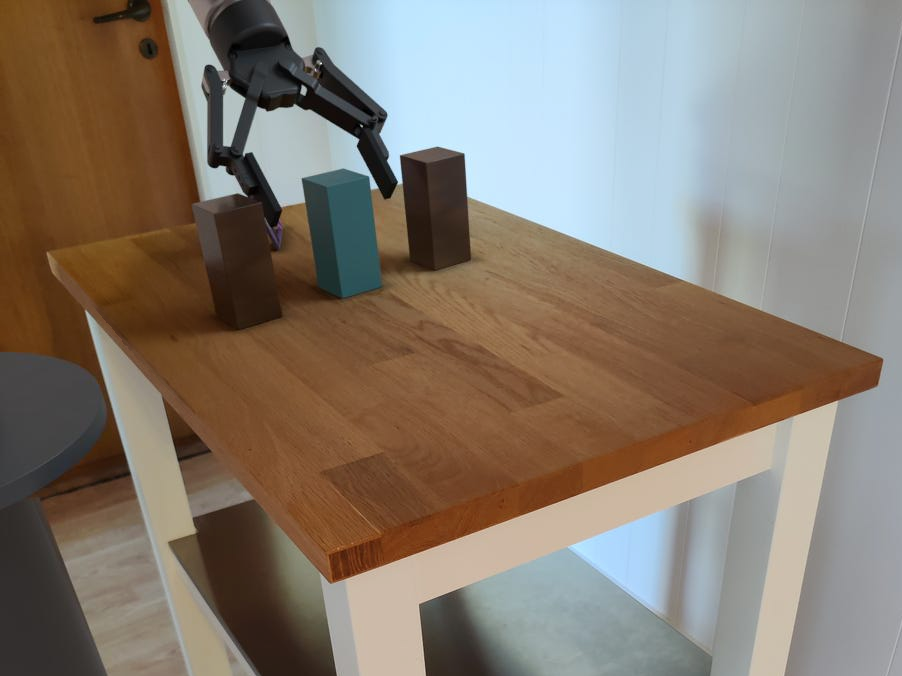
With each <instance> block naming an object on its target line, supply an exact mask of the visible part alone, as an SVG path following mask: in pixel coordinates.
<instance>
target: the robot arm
mask: <svg viewBox="0 0 902 676" xmlns="http://www.w3.org/2000/svg"><path fill="white" fill-rule="evenodd" d="M187 2H188V4H189V5H190V7H191V10H192V12H193V13H194V15H195V17H196V19H197V20H198V23H199V26H201V29H202V31H203V32H204V35H205V37H206V38H207V39H208V40H209V44H210V46H211V48H212V51H213V52H214V54H215V56H216V58H217V60H218V62H219V64H220V66H221V68H222V69H223V70H218V69H217V68H216V67H215V66H214V65H213V64H206V65H205V66H204V68H203V74H202V79H201V85H200V86H201V90H202V93H203V96H204V97H205V100H206V103H207V104H206V105H207V108H206V113H207V114H206V115H207V117H206V123H207V124H206V163H207V166H209V167H210V168H211V169H218V168H219V167H224V168H225V172H226V173H227V175H229V176H232V177H233V176H234V178H235V179H236V181H237V183H238V185H239V187H240V189H241V191H242V193H243V195H244V196H246V197H248V196H251V195H253V196H254V198H255V200H257V201H259V202H261V203H262V207H263V212H264V217H265V219H266V221H267V223H268V225H269V227H270V228H277V227H278V222H279V219H280V220H281V217H282V213H283V208H282V206H281V205H280V202H279V201H278V199H277V197H276V195H275V193H274V191H273V189H272V187H271V186H270V183H269V182H268V179H267V178H266V175H265V174H264V172H263V170H262V168H261V165H260V164H259V162H258V160H257V158H256V156H255V154H254V153H253V152H252V151H250V152H246V153H244V152H245V149H246V145H247V142H248V138H249V135H250V131H251V129H252V125H253V122H254V117H255V115H256V112H257V109H258V108H259V109H262V110H265V112H267V113H268V112H274V111H275V110H277V109H279V108H280V109H282V108H283V109H290V108H293V107H294V106H297V107H299V108H300V109H302V110H303V111H309V110H310V111H311V112H313V113H315V114H316V115H318V116H320V117H322V118H323V119H325V120H326V121H328V122H330V123H331V124H332V125H334V126H336V127H338V128H339V129H341V130H343V131H344V132H346V133H347V134H350V135H351V136H352V137H354V138H356V139H357V140H358V141H357V143H356V148H357V150H358V152H359V155H360V156H361V158H362V159H363V162H364V163H365V165H366V167H367V169H368V171H369V173H370V175H371V177H372V179H373V181H374V182H375V184H376V186H377V188H378V190H379V192H380V194H381V196H382V197H383V200H389V199H391V198H392V196H393V194H394V192H395V190H396V188H397V186H398V184H399V181H398V179H397V177H396V175H395V173H394V171H393V169H392V168H391V165H390V164H389V162H388V160H389V158H390V151H389V150H388V148H387V146H386V144H385V142H384V141H383V138H382V137H381V135H380V134H381V132H382V131H383V127H384V126H385V124H386V121H387V119H388V112H387V111H386V110H385V109H384V108H383V107H382V106H381V105H380V104H379V103H377V101H376V100H374V99H373V98H372V97H371V96H370V95H369V94H368V93H366V91H364V90H363V89H362V88H361V87H360V86H359V85H358V84H356V83H355V82H354V81H353V80H352V79H351V78H350V77H348V76H347V74H345V73H344V72H343V71H342V70H341V69H340V68H339V67H337V66H336V64H334V62H333V61H332V59H331V58H330V56H329V55H328V53H327V52H326V50H325V49H324V48H322V47H320V46H316V47H315V48H314V50H313V54H311V55H307V56H304V57H301V56H300V55H299V54H298V53H297V52H296V51H295V50H294V48H293V45H292V43H291V40H290V37H289V34H288V32H287V29H286V28H285V26H284V23H283V22H282V20H281V17H280V16H279V15H278V12H277V11H276V9H275V8H274V6H273V5H272V2H271V0H187ZM228 86H229V88H230V89H231V90H233V91H234V92H235V93H237V94H238V95H240V97H243V98H244V102H243V105H242V108H241V112H240V115H239V117H238V121H237V124H236V127H235V131H234V134H233V138H232V142H231V145H230V146H228V145H224V96H225V95H226V92H227V87H228ZM303 87H304V88H305V89H306V92H305V94H303V93H302V88H303Z"/></svg>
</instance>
